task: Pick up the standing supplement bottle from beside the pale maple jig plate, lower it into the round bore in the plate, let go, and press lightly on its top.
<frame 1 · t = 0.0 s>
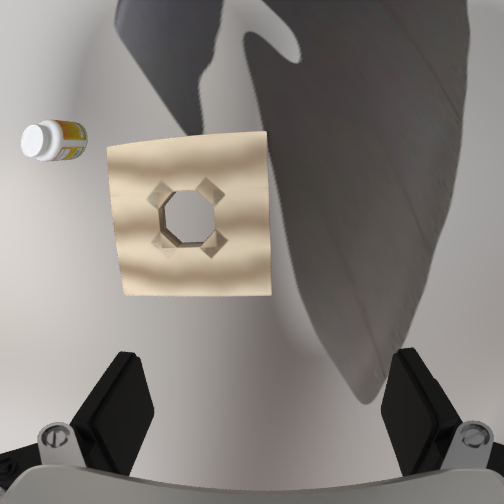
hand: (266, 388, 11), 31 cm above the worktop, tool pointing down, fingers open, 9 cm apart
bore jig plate: (190, 215, 41), on the worktop
supplement bottle: (74, 140, 39), on the worktop
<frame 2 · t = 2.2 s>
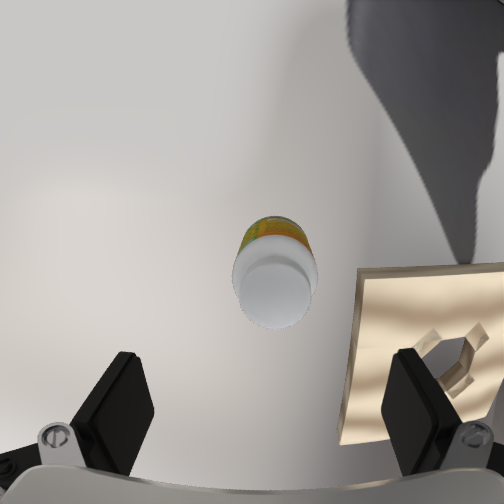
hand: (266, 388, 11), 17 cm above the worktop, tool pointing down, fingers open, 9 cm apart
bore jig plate: (436, 354, 29), on the worktop
supplement bottle: (275, 246, 27), on the worktop
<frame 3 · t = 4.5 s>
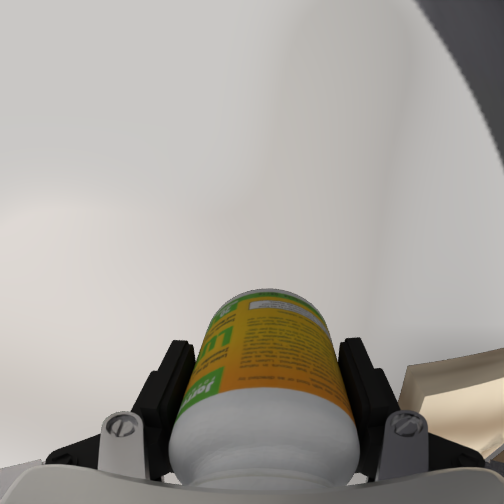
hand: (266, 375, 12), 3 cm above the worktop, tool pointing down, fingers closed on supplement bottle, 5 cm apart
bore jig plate: (486, 446, 16), on the worktop
supplement bottle: (267, 338, 14), on the worktop, touching gripper
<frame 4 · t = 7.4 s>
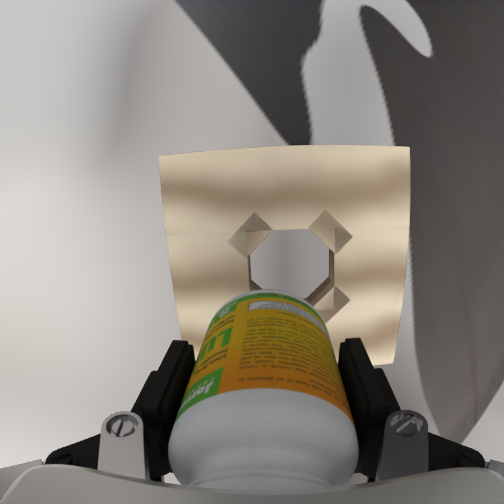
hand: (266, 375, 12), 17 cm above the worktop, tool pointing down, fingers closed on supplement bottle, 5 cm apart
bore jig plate: (290, 262, 29), on the worktop
supplement bottle: (267, 339, 14), point 15 cm above the worktop, touching gripper
when the fingers open (4 cm above the worktop, at t = 10.7 s): supplement bottle drops 1 cm, resting in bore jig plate.
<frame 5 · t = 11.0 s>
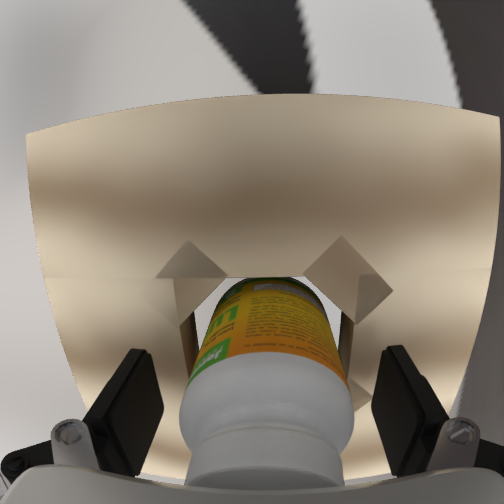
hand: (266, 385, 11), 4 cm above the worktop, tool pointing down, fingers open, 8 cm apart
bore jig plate: (268, 327, 15), on the worktop
supplement bottle: (269, 322, 15), resting in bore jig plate
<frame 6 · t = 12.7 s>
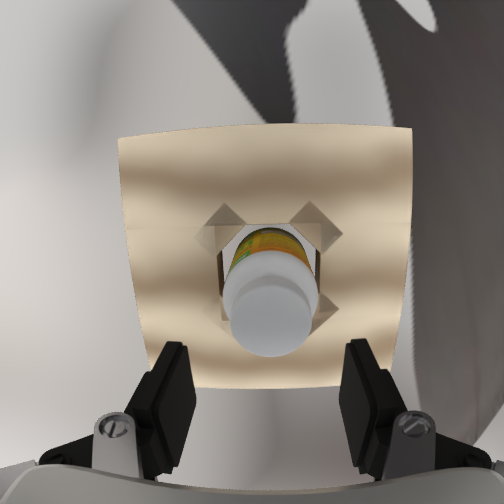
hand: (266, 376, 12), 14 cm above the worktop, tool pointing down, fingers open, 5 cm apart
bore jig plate: (269, 263, 25), on the worktop
supplement bottle: (270, 260, 25), resting in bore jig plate
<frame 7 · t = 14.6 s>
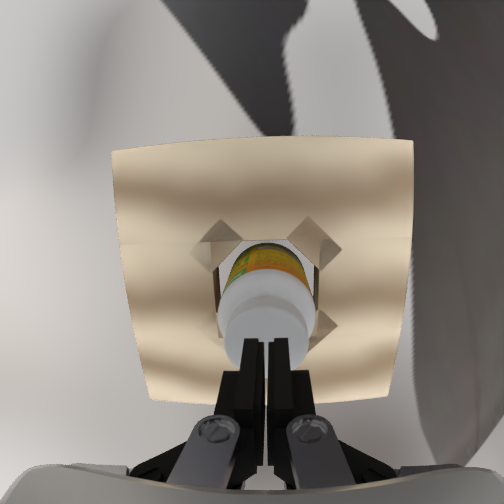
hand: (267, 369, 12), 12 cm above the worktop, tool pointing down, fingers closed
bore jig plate: (266, 279, 24), on the worktop
supplement bottle: (267, 276, 24), resting in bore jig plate
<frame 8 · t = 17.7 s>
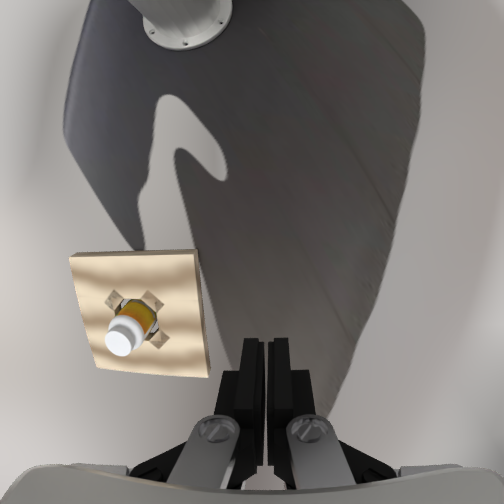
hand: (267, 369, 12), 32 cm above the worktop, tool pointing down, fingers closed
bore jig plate: (141, 312, 48), on the worktop
supplement bottle: (142, 311, 48), resting in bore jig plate
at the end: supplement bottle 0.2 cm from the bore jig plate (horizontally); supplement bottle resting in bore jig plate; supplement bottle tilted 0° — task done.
